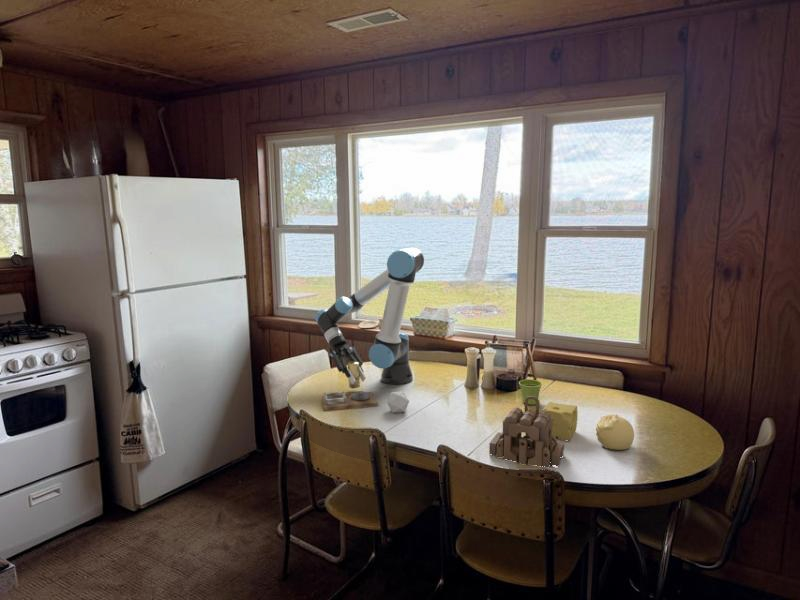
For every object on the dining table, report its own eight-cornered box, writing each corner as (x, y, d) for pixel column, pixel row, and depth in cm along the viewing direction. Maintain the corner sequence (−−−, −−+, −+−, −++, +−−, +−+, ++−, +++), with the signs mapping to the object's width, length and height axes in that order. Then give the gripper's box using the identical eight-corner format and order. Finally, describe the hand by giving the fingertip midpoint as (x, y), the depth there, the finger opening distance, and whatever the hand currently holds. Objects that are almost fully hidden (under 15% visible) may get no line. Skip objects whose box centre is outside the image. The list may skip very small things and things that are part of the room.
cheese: (569, 442, 184) (570, 414, 183) (539, 436, 190) (539, 409, 188) (577, 431, 193) (578, 405, 192) (547, 425, 199) (548, 400, 197)
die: (404, 418, 210) (414, 395, 213) (384, 408, 210) (395, 385, 212) (400, 417, 218) (410, 396, 221) (381, 408, 218) (392, 386, 220)
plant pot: (527, 408, 216) (528, 387, 215) (513, 401, 225) (514, 381, 223) (546, 404, 220) (546, 384, 219) (531, 397, 228) (532, 378, 227)
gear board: (372, 394, 235) (372, 385, 235) (377, 405, 222) (377, 396, 221) (322, 399, 231) (321, 389, 230) (324, 410, 217) (324, 400, 217)
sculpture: (596, 437, 188) (597, 407, 187) (633, 442, 184) (634, 412, 182) (594, 450, 178) (595, 419, 176) (633, 456, 173) (635, 424, 172)
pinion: (359, 384, 242) (358, 360, 241) (360, 387, 238) (359, 363, 236) (348, 385, 241) (347, 361, 240) (349, 388, 237) (348, 364, 235)
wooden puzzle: (487, 457, 174) (487, 403, 171) (500, 440, 187) (501, 389, 184) (556, 471, 164) (558, 414, 161) (564, 452, 177) (566, 398, 174)
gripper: (348, 340, 254) (371, 381, 244) (316, 347, 242) (339, 390, 233) (354, 331, 249) (378, 372, 240) (322, 338, 237) (346, 381, 228)
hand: (359, 381), depth 236 cm, fingers closed on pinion, 5 cm apart
